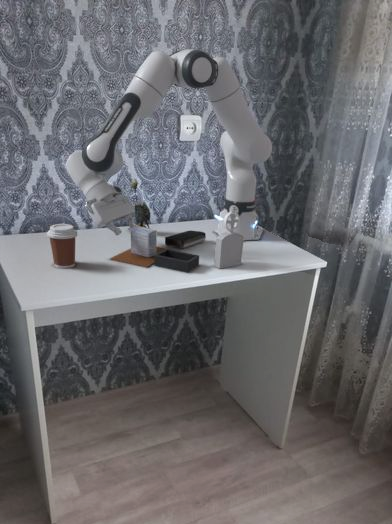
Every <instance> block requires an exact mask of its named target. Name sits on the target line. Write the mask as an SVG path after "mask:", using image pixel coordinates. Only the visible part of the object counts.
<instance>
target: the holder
mask: <svg viewBox="0 0 392 524" xmlns="http://www.w3.org/2000/svg"><path fill="white" fill-rule="evenodd" d="M169 249H170V248H165V250H163V251H161V252H159V253H158V254H156V255H154V264H153V266H154V267H158V268H164V269H168V270H173V271H177V272H183V273H187V274H189V273H190V272H192V271H193V270H194V269H197V267H199V266H200V254H194V253H191V252H190V253H189V252H184V251H179V250H174V249H170V250H169Z"/></svg>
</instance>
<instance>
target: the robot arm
mask: <svg viewBox="0 0 392 524" xmlns="http://www.w3.org/2000/svg"><path fill="white" fill-rule="evenodd" d="M173 86H175V87H178V88H183V89H187V90H192V89H195V90H201V89H204V90H205V92H206V95H207V97H208V99H209V102H210V104H211V107H212V109H213V112H214V114H215V116H216V118H217V121H218V123H219V124H220V126H221V127H222V128H223V129H224V132H223V133H222V134H221V136H220V139H219V140H220V141H219V145H220V149H221V151H222V154H223V156H224V157H223V158H224V162H225V169H226V170H225V171H226V186H225V187H226V188H225V189H226V190H225V197H224V201H223V209H222V210H221V211H220V212H219V216H218V215H216V214H214V218H216V219H217V220H218V225H217V228H215V229H214V233H215V234H217V235H218V236H219V235H220V234H222V233H224V232H227V231H228V230H227V229H226V228H225V227H224V224H223V221H224V218H225V216H226V214H227V213H229V212H230V210H235V212H236V213H238V215H239V217H240V222H239V225H238V227H237V228H236V229H235V230H233V232H236V233H239V234H241V235H243V236H244V239H243V241H253V240H254V241H259V240H260V239H261V237H262V235H263V232H264V228H262V227H260V226H259V223H260V217H259V215H258V213H257V212H256V205H257V203H258V199H257V198H255V197H256V188H257V177H256V174H255V172H254V168H253V165H256V164H257V165H258V164H262V163H265V162H266V161H267V160H268V159H269V158H270V156H271V155H272V151H273V143H272V140H271V139H270V137H269V136H268V135H267V134H266V133H265V132H264V130H263V129H262V128H261V126H260V125H259V123H258V121H257V120H256V119H255V116H254V115H253V113H252V112H251V110H250V108H249V106H248V104H247V100H246V99H245V95H244V93H243V89H242V87H241V85H240V82H239V80H238V78H237V76H236V73H235V71H234V69H233V67H232V66H231V64H230V62H229V60H228V59H226V58H225V57H223V56H215V57H212V56H211V55H209V53H207V52H206V51H204V50H202V49H193V48H186V49H182V50H181V49H180V50H177V51H174V52H173V53H170V54H168V53H166V52H165V51H161V50H154V51H152V52H151V53H150V54H149V55H148V56H147V57H146V59H144V61H143V62H142V64H141V65H140V66H139V68H138V70H137V71H136V72H135V74H134V76H133V77H132V79H131V81H130V82H129V84H128V86H127V88H126V90H125V92H124V93H123V95H122V96H121V97H120V99H119V101H118V102H117V103H116V105H115V106H114V108H113V109H112V111H111V112H110V114H109V115H108V116H107V118H106V119H105V121H104V123H103V124H102V125H101V127H100V129H99V130H98V131H97V132H96V133H95V134H93V135H92V136H90V137H89V138H88V139H87V140H86V141H85V142H84V144H83V146H82V148H81V149H76V150H74V151H73V152H72V153H71V154H70V155H68V157H67V159H66V162H65V169H66V171H67V173H68V175H69V177H70V179H71V180H72V181H73V183H74V184H75V186H76V187H77V188H78V189H80V190H81V191H82V193H83V196H84V198H85V199H86V201H85V209H86V210H87V213H88V215H89V217H90V218H91V220H92V221H93V223H94V225H95V226H97V227H98V228H99V229H100V228H101V229H102V228H105V227H106V228H107V229H108V230H110V231H111V232H113V233H114V235H115V236H119V235H121V234H122V232H123V231H122V230H121V228H120V227H117V226H116V225H115V223H118V222H120V221H122V220H125V221H126V222H128V227H129V228H134V227H136V225H137V223H135V221H134V220H135V219H134V216H133V215H135V205H134V204H133V203H132V201H131V200H130V198H129V197H127V195H126V194H124V193H123V192H124V190H123V189H122V187H121V186H116V185H113V184H109V183H108V181H107V180H108V179H109V178H111V177H113V176H115V175H116V174H118V173H119V172H120V171H121V170H122V167H123V165H124V159H123V155H122V152H120V150H118V148H116V147H117V145H118V143H119V141H120V140H121V139H122V137H123V135H125V133H126V132H127V130H128V128H129V126H131V124H132V123H134V121H136V120H138V119H142V118H148V117H151V116H152V115H153V114H154V113H155V112H156V111H157V109H158V108H159V107H160V105H161V103H162V102H163V101H164V98H165V97H166V95H167V93H168V92H169V90H170V89H171V88H172V87H173ZM234 219H236V216H235V217H234ZM228 220H229V218H228ZM234 225H235V223H234ZM227 226H228V228H229V223H228V224H227Z"/></svg>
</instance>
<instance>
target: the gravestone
mask: <svg viewBox="0 0 392 524" xmlns="http://www.w3.org/2000/svg"><path fill="white" fill-rule="evenodd" d="M235 216H236V219H234V217H235ZM228 218H229V220H228ZM239 222H240V217H239V215H238V213H236V212H235V210H230V212H229V213H227V214H226V216H225V218H224V221H223V224H224V227H225V228H226V229H227V230H228V231H227V232H224V233H222V234H220V235H218V236H216V238H215V248H214V249H215V250H214V262H213V265H214V266H213V267H215V268H217V269H225V268H230V267H235V266H239V265H242V259H243V258H242V257H243V248H244V247H243V246H244V240H243V239H244V236H243V235H241V234H239V233H236V232H233V230H235V229H236V228H237V227H238V225H239ZM228 223H229V228H228V226H227V224H228ZM234 223H235V225H234Z"/></svg>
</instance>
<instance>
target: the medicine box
mask: <svg viewBox="0 0 392 524" xmlns="http://www.w3.org/2000/svg"><path fill="white" fill-rule="evenodd" d="M149 228H150V227H149ZM149 228H148V227H146V228H145V227H141V226H137V227H134V228H131V231H130V249H131V253H133V254H137V255H141V256H144V257H148V258H150V257H152V256H154V255H156V247H157V230H156V229H154V228H150V229H149Z"/></svg>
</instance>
